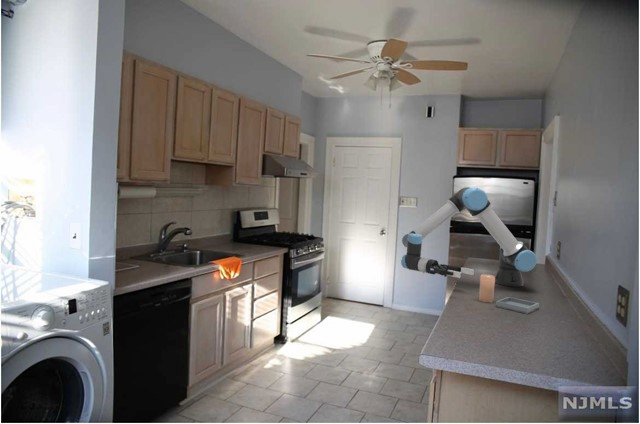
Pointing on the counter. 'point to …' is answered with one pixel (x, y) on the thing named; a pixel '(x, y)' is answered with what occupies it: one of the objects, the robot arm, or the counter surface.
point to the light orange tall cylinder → (486, 288)
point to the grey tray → (517, 305)
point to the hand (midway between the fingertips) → (467, 273)
